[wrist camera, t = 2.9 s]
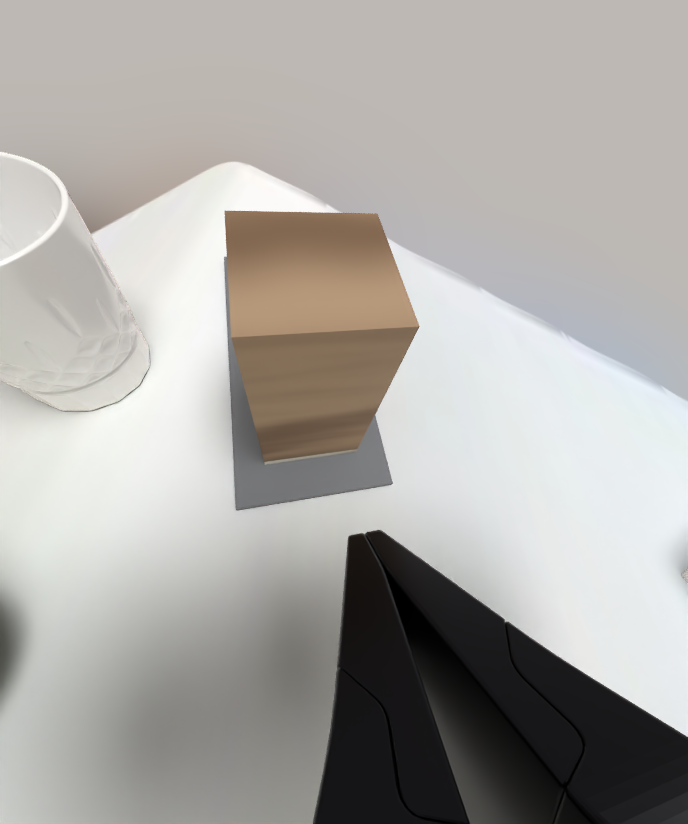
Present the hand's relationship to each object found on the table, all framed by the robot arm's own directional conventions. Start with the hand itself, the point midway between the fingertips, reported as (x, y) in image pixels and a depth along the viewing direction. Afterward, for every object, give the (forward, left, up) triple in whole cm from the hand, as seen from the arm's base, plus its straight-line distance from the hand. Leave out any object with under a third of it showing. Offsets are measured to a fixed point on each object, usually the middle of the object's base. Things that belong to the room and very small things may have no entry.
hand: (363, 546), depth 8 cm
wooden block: (+5, +7, -10) cm, 13 cm away
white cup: (-2, +19, -11) cm, 22 cm away
